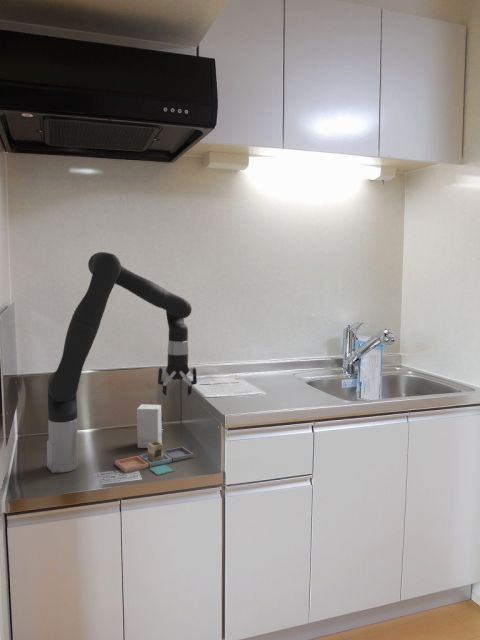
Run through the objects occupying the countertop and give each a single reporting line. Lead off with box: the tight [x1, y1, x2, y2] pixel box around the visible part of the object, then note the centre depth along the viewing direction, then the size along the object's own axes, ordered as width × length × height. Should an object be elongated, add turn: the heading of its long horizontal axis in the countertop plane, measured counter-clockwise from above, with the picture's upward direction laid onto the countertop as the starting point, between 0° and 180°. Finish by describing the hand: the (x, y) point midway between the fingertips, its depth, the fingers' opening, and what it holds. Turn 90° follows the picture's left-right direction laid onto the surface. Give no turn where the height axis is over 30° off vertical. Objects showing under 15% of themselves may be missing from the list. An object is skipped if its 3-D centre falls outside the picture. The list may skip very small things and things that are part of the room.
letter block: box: [147, 441, 164, 462], centre depth 185 cm, size 4×4×6 cm
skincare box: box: [136, 403, 163, 449], centre depth 200 cm, size 8×7×16 cm
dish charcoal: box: [163, 446, 195, 463], centre depth 191 cm, size 8×8×2 cm
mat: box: [148, 464, 174, 476], centre depth 177 cm, size 6×6×1 cm
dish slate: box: [138, 453, 173, 468], centre depth 185 cm, size 8×8×2 cm
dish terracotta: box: [114, 455, 149, 474], centre depth 180 cm, size 8×8×2 cm
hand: (177, 395), depth 195 cm, fingers open, 8 cm apart
